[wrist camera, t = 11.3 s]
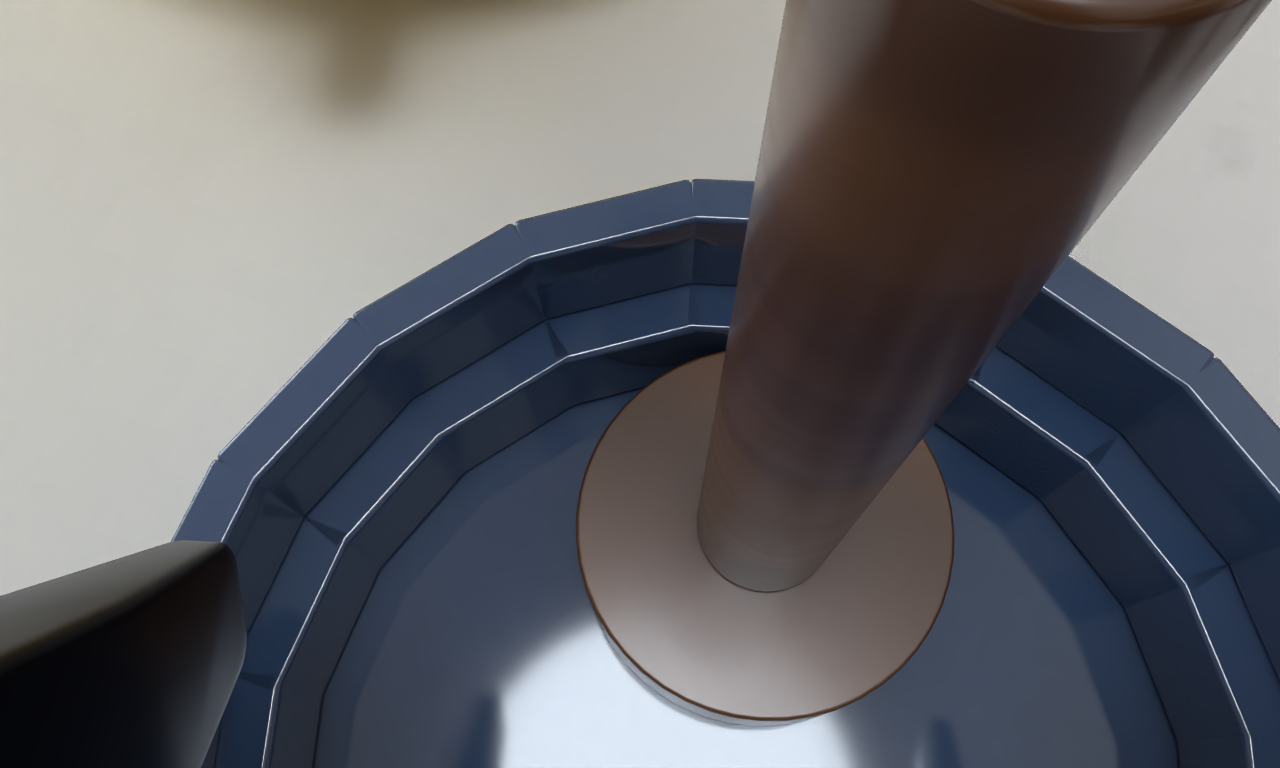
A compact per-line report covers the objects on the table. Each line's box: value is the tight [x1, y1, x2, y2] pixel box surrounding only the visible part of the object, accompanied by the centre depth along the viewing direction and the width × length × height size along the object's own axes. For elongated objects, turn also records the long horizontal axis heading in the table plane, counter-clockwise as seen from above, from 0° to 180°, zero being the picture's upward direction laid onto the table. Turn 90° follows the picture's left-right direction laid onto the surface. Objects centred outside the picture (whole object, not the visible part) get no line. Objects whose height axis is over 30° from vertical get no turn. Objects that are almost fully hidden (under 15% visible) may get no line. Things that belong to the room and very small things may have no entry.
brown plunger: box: [576, 0, 1271, 726], centre depth 10 cm, size 5×5×14 cm
